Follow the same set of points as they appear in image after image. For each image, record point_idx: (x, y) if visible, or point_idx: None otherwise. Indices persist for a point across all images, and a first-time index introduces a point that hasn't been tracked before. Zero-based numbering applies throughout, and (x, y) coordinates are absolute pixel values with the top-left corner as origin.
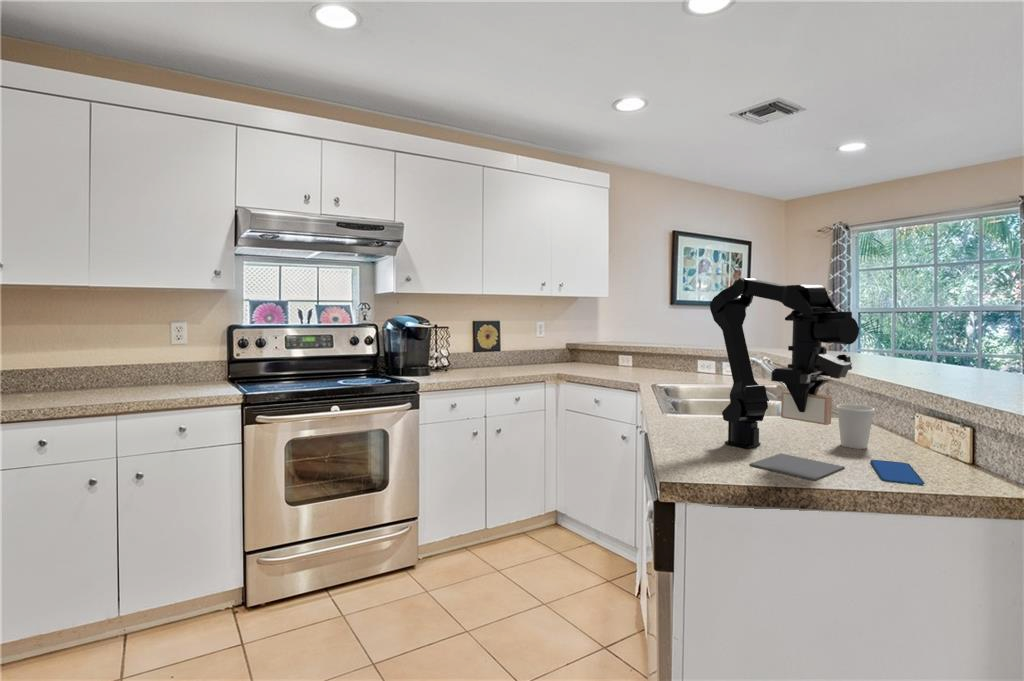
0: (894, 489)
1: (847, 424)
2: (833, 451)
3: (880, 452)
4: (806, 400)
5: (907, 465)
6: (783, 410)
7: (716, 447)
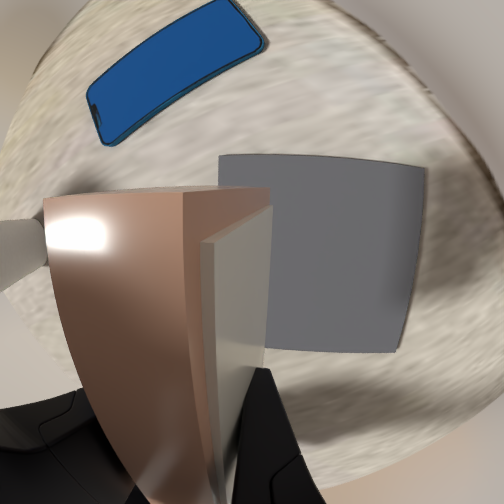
0: (320, 15)
1: (10, 261)
2: None
3: (39, 184)
4: (257, 430)
5: (102, 79)
6: None
7: None
